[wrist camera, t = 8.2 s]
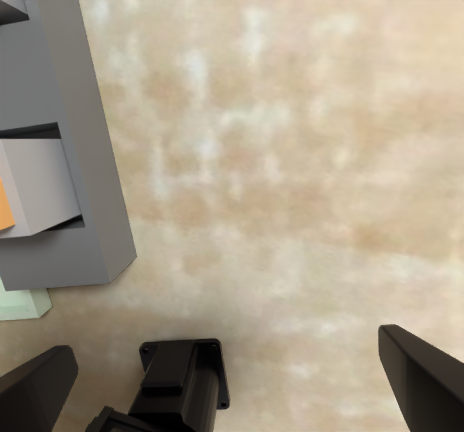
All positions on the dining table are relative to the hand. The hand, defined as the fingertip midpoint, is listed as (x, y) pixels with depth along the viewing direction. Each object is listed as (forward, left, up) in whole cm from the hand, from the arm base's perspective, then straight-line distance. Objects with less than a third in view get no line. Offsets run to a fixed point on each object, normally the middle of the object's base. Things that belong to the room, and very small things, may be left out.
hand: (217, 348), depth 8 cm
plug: (+5, +11, -11) cm, 17 cm away
